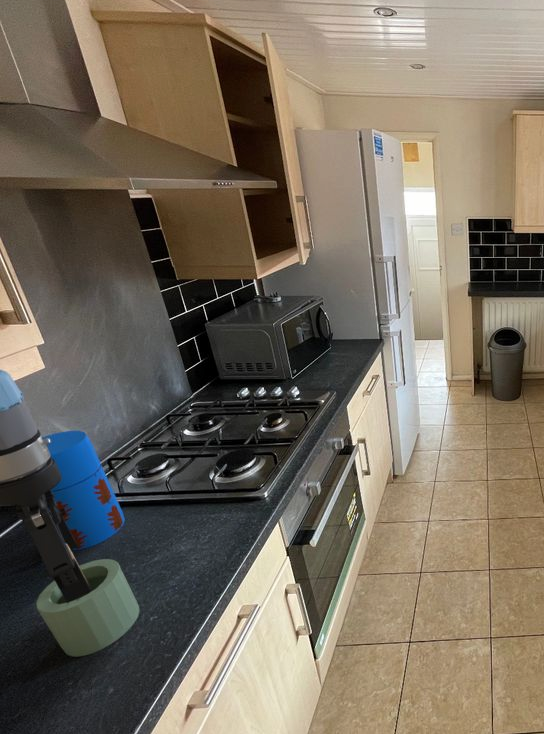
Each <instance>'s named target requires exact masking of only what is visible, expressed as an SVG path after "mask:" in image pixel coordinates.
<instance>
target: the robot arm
mask: <svg viewBox="0 0 544 734" xmlns="http://www.w3.org/2000/svg"><path fill="white" fill-rule="evenodd" d="M36 423H37V422H36V421H35V419H34V417H33V414H32V413H31V411H30V408H29V407H28V405H27V403H26V400H25V396H24V393H23V392H22V390H20V388H19V387H18V385H17V384H16V382H15V380H14V379H13V377H12V376H11V374H10V373H9V372H7V371H6V370H3V369H0V507H9V506H13V505H14V507H15V508H16V510H15V513H16V516H17V518H18V519H19V520H21V522H22V524H23V525H24V527H25V531H26V532H27V534H29V535H30V537H31V538H32V541H33V543H34V545H35V547H36V550H37V551H38V553H39V555H40V558H41V560H42V562H43V564H44V566H45V568H46V572H44V573H43V574H42V577H43V579H46V578H50V579H53V581H54V580H55V582H56V584H57V585H58V587H59V589H60V591H61V592H62V594H63V596H64V598H65V599H66V601H67V603H69V602H71V601H73V600H75V599H76V598H78V597H80V596H82V595H84V594H86V593H88V592H90V591H91V589H90V587H89V585H88V583H87V581H86V579H85V578H84V576H83V574H82V572H81V570H80V568H79V566H80V565H79V563H78V561H77V560H76V561H77V562H76V561H75V559H76V558H75V559H72V557H71V554H70V552H69V550H68V548H67V545H66V544H68V546H69V548H70V550H71V551H74V550H73V549H75V548H77V547H78V546H77V543H76V541H75V540H74V538H73V536H72V534H71V532H70V530H69V528H68V526H67V524H66V522H65V520H64V518H63V517H62V518H60V517H61V516H63V515H66V514H67V512H66V510H65V508H63V509H61V510H58V507H59V506H58V504H56V502H55V499H54V498H55V497H54V495H53V492H52V490H51V489H52V488H54V487H55V486H56V485H57V484H58V483H59V482H60V480H61V478H62V476H61V473H60V471H59V469H58V467H57V465H56V463H55V461H54V459H52V458H50V456H51V454H50V452H49V450H48V448H47V446H46V445H48V444H50V443H51V440H50V439H49V438H46V439H43V440H42V437H43V436H42V435H41V431H40V429H39V428H38V425H37V424H36ZM77 563H78V564H77ZM78 565H79V566H78Z"/></svg>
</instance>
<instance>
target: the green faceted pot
mask: <svg viewBox="0 0 544 734" xmlns="http://www.w3.org/2000/svg"><path fill="white" fill-rule="evenodd" d="M79 567H80V569H81V570H82V572H83V574H84V576H85V578H86V580H87V582H88V584H89V585H90V587H91V589H92V592H90V593H89V594H87V595H85V596H83V597H81V598H80V597H78V598H76V599H75V600H73V601H71V602H69V603H67V601H66V599H65V598H64V596H63V594H62V592H61V591H60V589H59V587H58V585H57V584H56V582H55V580H54V579H53V581H52V582H51V583H49V584H48V585H47V586H46V587H45V588H44V589H43V590H42V591H41V593H40V594H39V596H38V598H37V600H36V602H35V604H36V610H37V611H38V613H39V614H40V616H41V617H42V619H43V621H44V623H45V624H46V626H47V627H48V629H49V630H50V632H51V634H52V636H53V637H54V639H55V640H56V642H57V643H58V645H59V647H60V648H61V650H63V652H64V653H65V655H67V656H69V657H76V658H77V657H78V658H79V657H84V656H88V655H92V654H95V653H97V652H99V651H101V650H103V649H106V648H107V647H109V646H110V645H112V644H113V643H115V642H116V641H118V640H119V639H120V638H121V637H123V636H124V635H125V634H126V633H127V632H128V631H130V629H131V628H132V627H133V625H134V624H135V622H136V621H137V620H138V619H139V618H138V617H139V614H140V605H139V603H138V601H137V599H136V596H135V595H134V593H133V591H132V589H131V587H130V585H129V582H128V580H127V578H126V577H125V574H124V572H123V570H122V568H121V565H120V564H119V562H118V561H116V560H115V559H109V558H102V559H101V558H100V559H96V560H92V561H89V562H86V563H83V564H80V565H79Z"/></svg>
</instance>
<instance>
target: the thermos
mask: <svg viewBox="0 0 544 734" xmlns="http://www.w3.org/2000/svg"><path fill="white" fill-rule="evenodd" d="M46 438H49V439H50V440H51V443H50V444H48V445H46V446H47V448H48V450H49V452H50V454H51V456H50V458H52V459H54V461H55V463H56V465H57V467H58V469H59V471H60V473H61V476H62V478H61V480H60V482H59V483H58V484H57V485H56V486H55V487H54V488H52V489H51V490H52V492H53V495H54V497H55V498H54V499H55V502H56V504H58V506H59V507H58V510H61V509H63V508H65V510H66V512H67V514H66V515H63V516H61V517H60V518H62V517H63V518H64V520H65V522H66V524H67V526H68V528H69V530H70V532H71V534H72V536H73V538H74V540H75V541H76V543H77V546H78V547H77V548H75V549H73V550H72V551H80V550H83V549H88V548H90V547H93V546H95V545H98V544H101V543H102V542H103V541H106V540H107V539H109V538H111V537H112V536H114V534H116V533H118V532H119V531H120V530H121V528H122V527H123V526H124V524H125V521H126V519H125V515H124V512H123V510H122V507H121V505H120V503H119V501H118V498H117V496H116V494H115V492H114V490H113V488H112V485H111V483H110V481H109V478H108V477H107V474H106V472H105V469H104V468H103V466H102V465H103V464H102V463H101V461H100V459H99V456H98V454H97V452H96V450H95V447H94V445H93V443H92V441H91V439H90V438H89V436H88V435H87V434H86V432H85V431H82V430H67V431H59V432H56V433H52V434H48V435H45V436H42V440H43V439H46Z"/></svg>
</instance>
